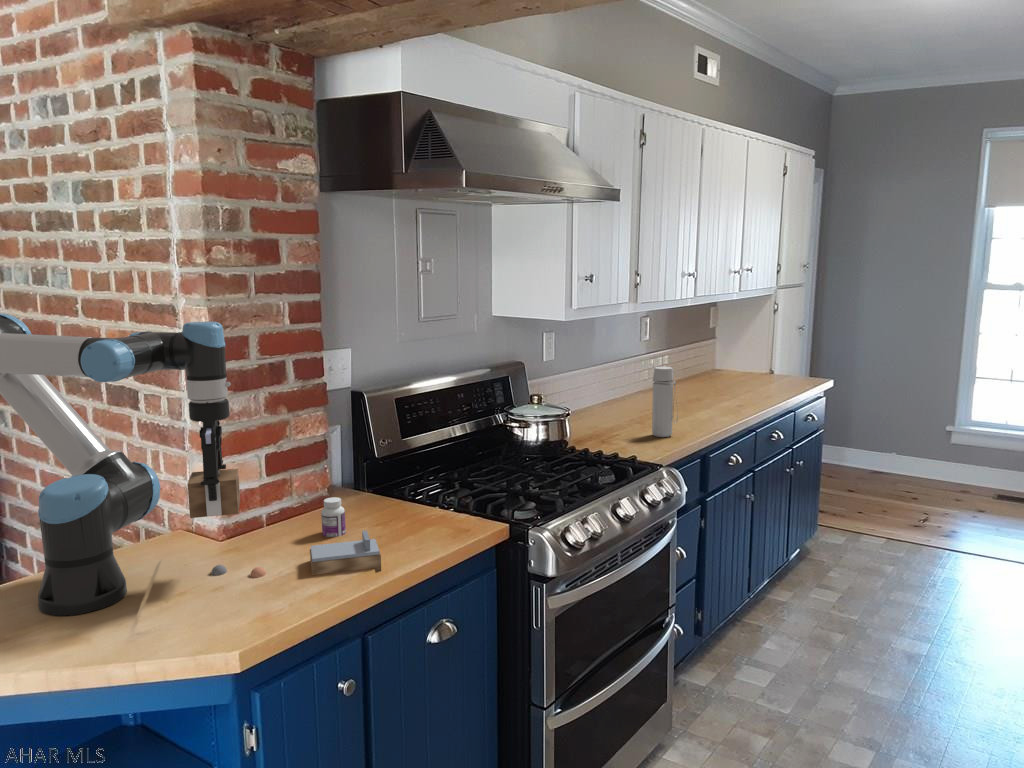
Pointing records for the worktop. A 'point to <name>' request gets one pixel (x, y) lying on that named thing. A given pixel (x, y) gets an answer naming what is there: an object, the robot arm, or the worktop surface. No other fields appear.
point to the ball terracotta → (258, 572)
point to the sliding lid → (345, 549)
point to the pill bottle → (333, 518)
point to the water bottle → (663, 401)
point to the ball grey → (219, 570)
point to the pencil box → (346, 564)
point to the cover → (227, 492)
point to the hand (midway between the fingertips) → (216, 508)
